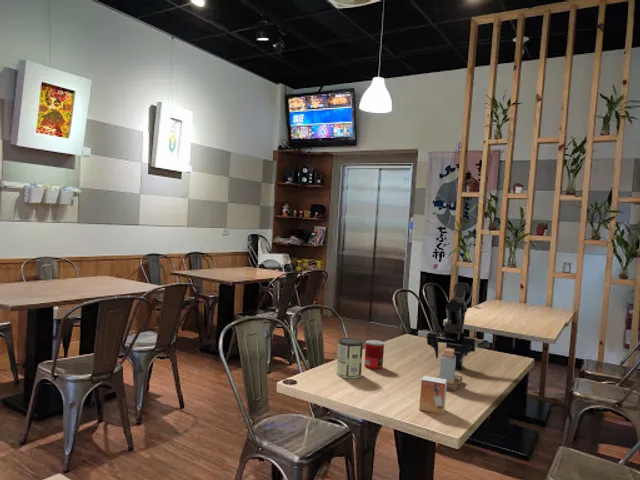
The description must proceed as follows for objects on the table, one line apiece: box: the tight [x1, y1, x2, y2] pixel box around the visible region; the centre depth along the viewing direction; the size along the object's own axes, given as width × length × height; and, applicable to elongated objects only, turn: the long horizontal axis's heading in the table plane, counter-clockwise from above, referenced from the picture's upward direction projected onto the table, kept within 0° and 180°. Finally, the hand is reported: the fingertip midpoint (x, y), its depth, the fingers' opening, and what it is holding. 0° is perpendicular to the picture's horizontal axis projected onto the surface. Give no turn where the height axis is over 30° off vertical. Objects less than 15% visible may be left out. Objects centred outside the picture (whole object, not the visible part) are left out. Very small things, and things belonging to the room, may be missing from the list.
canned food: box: [364, 339, 385, 370], centre depth 207 cm, size 8×8×11 cm
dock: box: [436, 374, 463, 392], centre depth 189 cm, size 14×8×3 cm, turn 152°
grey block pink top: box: [439, 347, 457, 384], centre depth 187 cm, size 9×6×12 cm, turn 158°
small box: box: [418, 375, 447, 416], centre depth 160 cm, size 8×6×10 cm
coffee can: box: [336, 337, 364, 379], centre depth 194 cm, size 10×10×14 cm
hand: (448, 360), depth 185 cm, fingers open, 8 cm apart
